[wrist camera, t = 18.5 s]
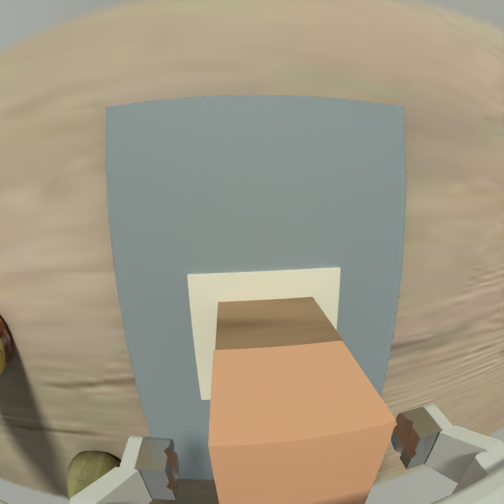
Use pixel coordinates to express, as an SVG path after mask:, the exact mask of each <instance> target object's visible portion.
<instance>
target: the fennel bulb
mask: <svg viewBox="0 0 504 504" xmlns="http://www.w3.org/2000/svg"><path fill="white" fill-rule="evenodd" d="M120 463H121V462H120V461H118V460H116V459H115V458H114V457H112V456H111V455H109V454H107V453H104V452H98V451H84V452H80V453H78V454H77V455H76V456H75V457H74V458H73V459H72V461H71V463H70V465H69V468H68V476H67V486H68V496H69V502H70V499H71V497H73V496H74V495H76V494H77V493H79V492H80V491H82V490H83V489H85V488H86V487H88V486H89V485H91V484H92V483H94V482H95V481H96V480H98V479H99V478H101V477H102V476H104V475H105V474H106V473H108V472H109V471H111V470H112V469H113V468H115V467H120Z"/></svg>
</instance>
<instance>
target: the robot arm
mask: <svg viewBox="0 0 504 504" xmlns="http://www.w3.org/2000/svg"><path fill="white" fill-rule="evenodd" d="M396 422H397V425H396V426H395V427H394V430H393V433H392V436H391V442H392V445H393V447H394V449H395V451H397V452H399V453H401V456H400V459H401V461H402V463H403V464H404V466H405V468H406V469H410V468H413V467H416V466H419V465H422V464H425V465H427V466H429V467H430V468H432V469H434V470H435V471H437V472H439V473H441V474H442V475H444V476H446V477H448V478H449V479H451V480H453V481H455V482H457V483H458V485H457V486H456V488H455V489H454V491H453V493H452V494H451V495H449V496H447V497H445V498H443V499H440V500H438V501H436V502H434V503H431V504H504V444H503V443H502V441H500V440H496V439H494V438H491V437H488V436H485V435H482V434H479V433H476V432H473V431H470V430H467V429H464V428H462V427H459V426H454V427H453V426H452V424H451V423H450V422H449V421H448V420H447V418H446V417H445V416H444V415H443V414H442V413H441V411H440V410H439V409H438V408H437V407H436V406H435V405H434V404H429V405H426V406H423V407H419V408H416V409H413V410H409V411H406V412H402V413H399V414H398V416H397V418H396ZM174 448H175V445H174V441H173V439H169V438H155V437H141V436H132V435H131V436H130V437H129V438H128V441H127V444H126V447H125V451H124V454H123V457H122V460H121V463H120V467H115V468H113V469H112V470H111V471H109V472H108V473H106V474H105V475H104V476H102V477H101V478H99V479H98V480H96V481H95V482H94V483H92V484H91V485H89V486H88V487H86V488H85V489H83V490H82V491H80V492H79V493H77V494H76V495H74V496H73V497H71V499H70V502H69V504H149V503H150V502H151V501H152V499H165V500H176V493H177V484H176V480H175V479H177V478H178V476H179V460H178V455H177V453H176V452H174ZM0 504H8V503H6V502H4V501H1V500H0Z"/></svg>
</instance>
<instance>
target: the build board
mask: <svg viewBox="0 0 504 504" xmlns="http://www.w3.org/2000/svg"><path fill="white" fill-rule="evenodd" d="M106 174H107V195H108V211H109V223H110V234H111V244H112V253H113V261H114V269H115V277H116V284H117V290H118V297H119V303H120V309H121V315H122V320H123V326H124V331H125V336H126V341H127V346H128V350H129V355H130V360H131V364H132V368H133V373H134V377H135V381H136V385H137V389H138V393H139V396H140V400H141V404H142V407H143V411H144V415H145V418H146V421H147V425H148V428H149V431H150V435H151V437H155V438H169V439H173V441H174V445H175V448H174V452H176V453H177V455H178V460H179V476H178V478H177V479H198V480H214V475H213V469H212V464H211V459H210V453H209V447H208V440H209V419H210V400H211V382H212V366H213V350H215V343H216V326H217V311H218V302H229V301H251V300H270V299H286V298H302V297H313V298H314V299H315V301H316V302H317V304H318V305H319V306H320V308H321V309H322V311H323V312H324V314H325V315H326V316H327V318H328V319H329V321H330V322H331V323H332V325H333V326H334V328H335V329H336V331H337V332H338V333H339V335H340V336H341V338H342V339H343V343H344V344H345V346H346V347H347V348H348V350H349V351H350V353H351V354H352V356H353V357H354V359H355V360H356V362H357V363H358V365H359V366H360V368H361V369H362V370H363V372H364V373H365V375H366V376H367V378H368V379H369V381H370V382H371V384H372V385H373V387H374V388H375V390H376V391H377V393H378V394H379V396H380V397H381V394H382V389H383V385H384V380H385V376H386V371H387V366H388V361H389V356H390V350H391V345H392V339H393V333H394V327H395V320H396V313H397V306H398V298H399V290H400V281H401V271H402V260H403V247H404V232H405V208H406V153H405V130H404V115H403V107H401V106H395V105H388V104H381V103H374V102H366V101H358V100H348V99H338V98H326V97H311V96H291V95H222V96H201V97H187V98H175V99H164V100H155V101H146V102H138V103H131V104H124V105H118V106H111V107H106Z"/></svg>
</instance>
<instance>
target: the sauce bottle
mask: <svg viewBox="0 0 504 504" xmlns="http://www.w3.org/2000/svg"><path fill="white" fill-rule="evenodd" d="M11 351H12V342H11V338H10V336H9V334H8V330H7V328H6V326H5V323H4V321H3V320H2V319H1V317H0V375H1V374H2V373H3V371H4V368H5V367H6V366H7V364H8V362H9V360H10V357H11Z"/></svg>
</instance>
